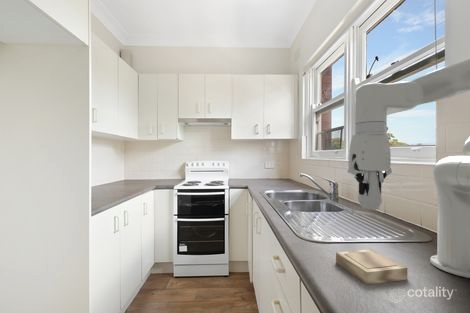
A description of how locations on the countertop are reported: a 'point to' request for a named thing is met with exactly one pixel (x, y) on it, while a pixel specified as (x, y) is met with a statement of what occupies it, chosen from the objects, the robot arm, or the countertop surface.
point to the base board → (371, 266)
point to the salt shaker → (371, 193)
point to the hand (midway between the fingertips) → (369, 196)
